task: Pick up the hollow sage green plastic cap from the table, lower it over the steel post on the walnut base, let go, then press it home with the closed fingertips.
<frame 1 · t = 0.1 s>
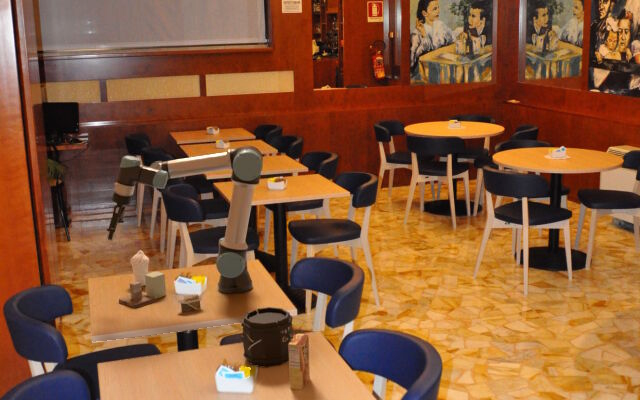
hand: (111, 241, 328), 28 cm above the table, tool tilted 20°, fingers open, 13 cm apart
post base: (137, 301, 337), on the table
wooden barrel: (268, 358, 276), on the table
soft serve ice cream cone: (142, 284, 360), on the table
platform: (191, 311, 325), on the table
candy box: (300, 384, 255), on the table
sage cap: (156, 295, 344), on the table
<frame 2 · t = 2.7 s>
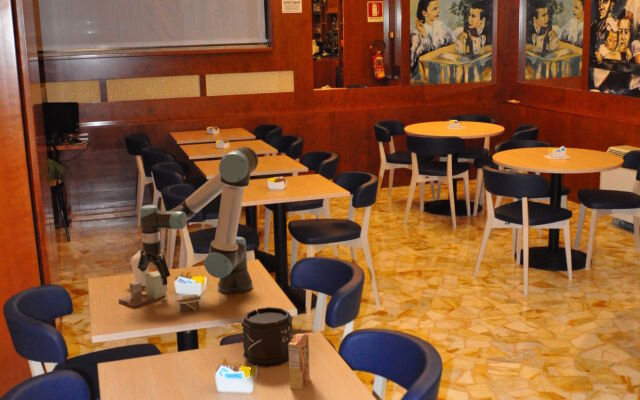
hand: (155, 288, 343), 3 cm above the table, tool pointing down, fingers open, 13 cm apart
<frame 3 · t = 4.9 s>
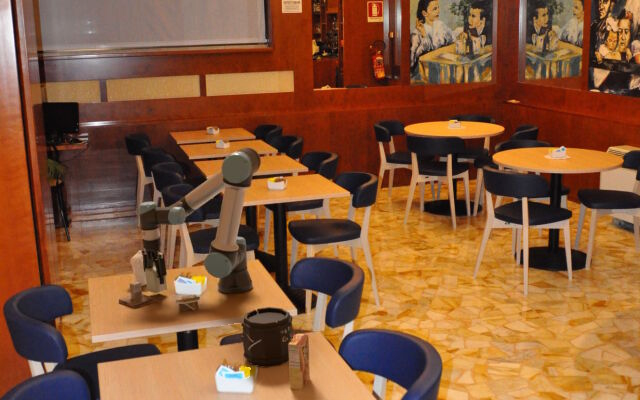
hand: (157, 289, 343), 3 cm above the table, tool pointing down, fingers closed on sage cap, 6 cm apart
sage cap: (157, 290, 343), point 2 cm above the table, touching gripper
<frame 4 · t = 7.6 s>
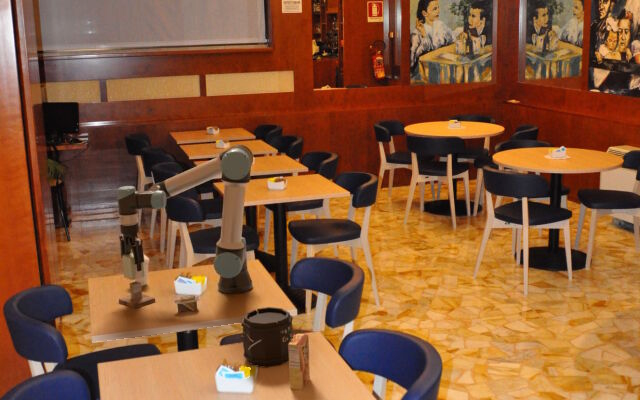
hand: (134, 276, 334), 11 cm above the table, tool pointing down, fingers closed on sage cap, 6 cm apart
sage cap: (134, 277, 335), point 11 cm above the table, touching gripper
when the fingers open (3 cm above the table, at t = 10.6 s): sage cap drops 1 cm, resting on post base.
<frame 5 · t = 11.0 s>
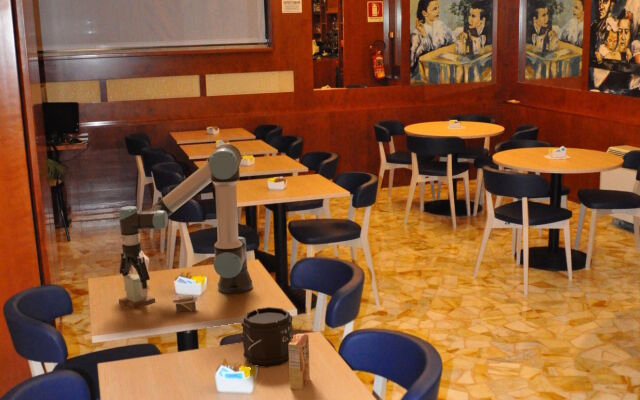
hand: (136, 292, 336), 4 cm above the table, tool pointing down, fingers open, 11 cm apart
sage cap: (136, 298, 337), point 1 cm above the table, touching post base
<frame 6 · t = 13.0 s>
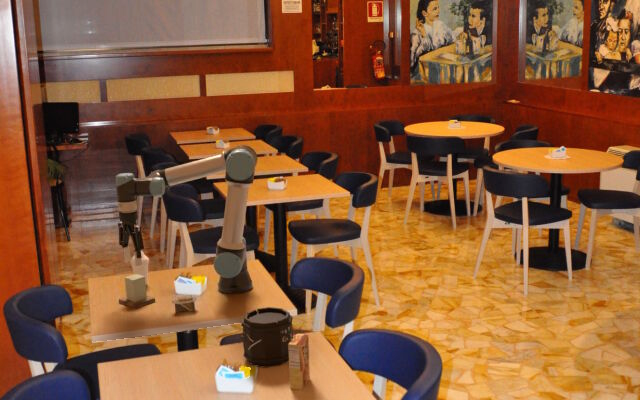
hand: (133, 263, 333), 17 cm above the table, tool pointing down, fingers open, 7 cm apart
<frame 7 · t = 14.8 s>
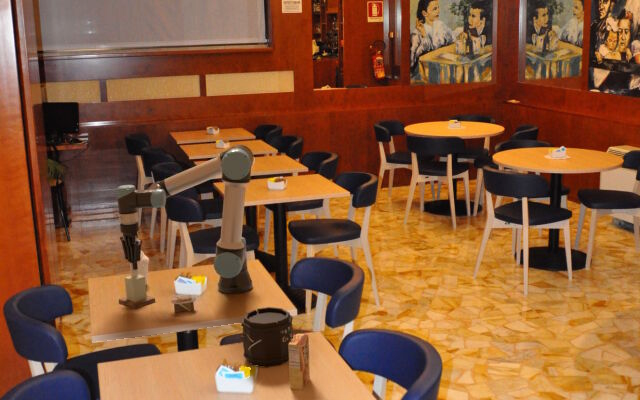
hand: (134, 276, 334), 11 cm above the table, tool pointing down, fingers closed
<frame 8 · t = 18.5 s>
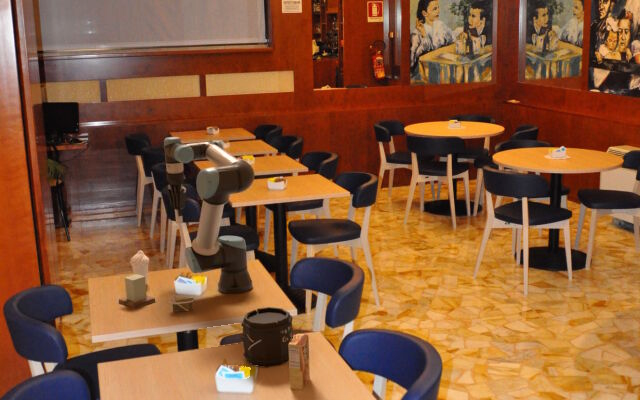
hand: (179, 222, 360), 26 cm above the table, tool pointing down, fingers closed
at the end: sage cap 0.1 cm off-centre on the post base, point 1.5 cm above the post base's base; sage cap tilted 0°; the gripper is holding nothing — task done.
